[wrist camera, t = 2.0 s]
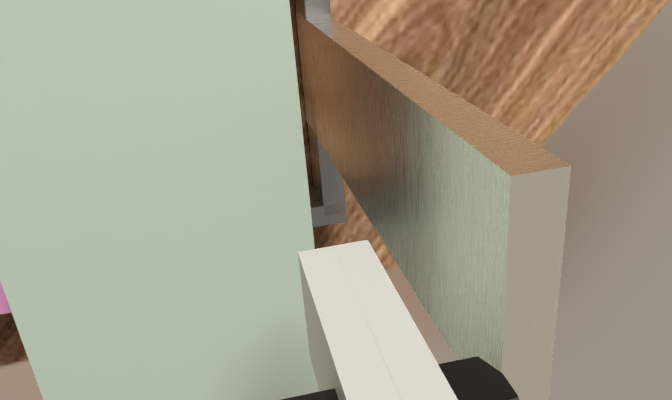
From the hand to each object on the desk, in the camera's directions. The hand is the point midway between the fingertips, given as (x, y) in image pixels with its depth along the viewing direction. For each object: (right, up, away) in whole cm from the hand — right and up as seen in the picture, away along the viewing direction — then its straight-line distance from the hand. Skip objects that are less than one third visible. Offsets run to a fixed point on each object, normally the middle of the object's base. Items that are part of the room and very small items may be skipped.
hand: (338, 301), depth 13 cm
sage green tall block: (-9, +8, +20) cm, 23 cm away
